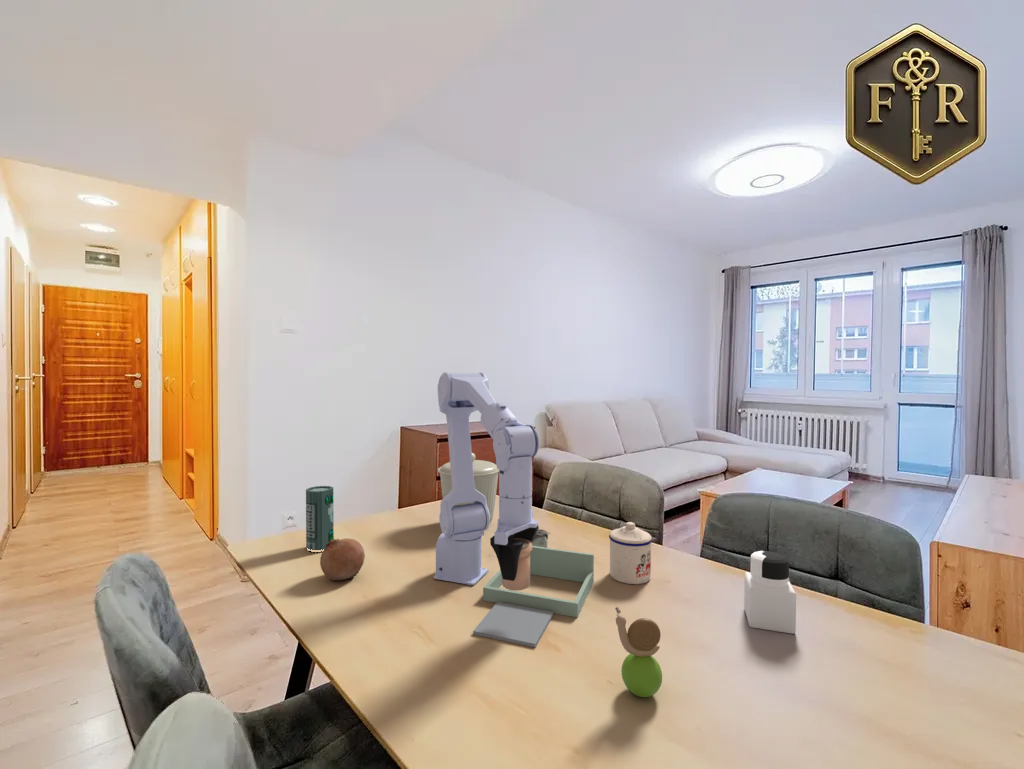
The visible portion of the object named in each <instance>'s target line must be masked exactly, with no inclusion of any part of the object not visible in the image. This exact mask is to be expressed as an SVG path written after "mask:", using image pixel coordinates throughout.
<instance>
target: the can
mask: <svg viewBox="0 0 1024 769" xmlns="http://www.w3.org/2000/svg"><path fill="white" fill-rule="evenodd" d="M334 513H335V511H334V486H330V485H317V486H316V485H315V486H310V487H307V488H306V489H305V535H306V536H305V538H306V540H305V546H306V548H308V549H310V550H311V549H312V550H321V549H322V550H323V549H325V548H326V547H325V546H326V544H328V543H329V541H331V540H334V538H335V537H334V535H335V534H334V533H335V532H334V531H335V530H334V528H335V527H334V525H335V524H334V522H335V521H334V520H335V519H334V517H335V516H334ZM327 542H328V543H327ZM306 548H305V549H306Z"/></svg>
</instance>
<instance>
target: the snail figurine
mask: <svg viewBox="0 0 1024 769" xmlns="http://www.w3.org/2000/svg"><path fill="white" fill-rule="evenodd" d="M615 611H616V616H617V617H616V618H615V624H616V626H617V630H618V631H617V632H618V635H619V640H620V642H621V645H622V647H623V649H624V650H625V651H626V652H627V653H629V654H628V655H627V656H625V658H624V660H623V662H622V665H621V677H622V681H623V684H624V685H625V687H626V688H627V690H628V691H630V692H631V693H632V694H633V695H635V696H636V697H640V698H649V697H652V696H654V695H655V694H656V693H658V691H659V690H660V688H661V686H662V684H663V672H662V668H661V665H660V664H659V662H658V660H657V659H656V658H655V657H654V656H653V655H655V654H656V653H657V652H658V651H659V650H660V648H661V646H660V645H658V644H659V642H660V640H661V630H660V628H659V625H658V624H657V622H656V621H654V620H652V619H650V618H645V617H642V618H641V617H640V618H638V619H635V620H634V621H633V622H632V623H631V624H630V625H629V627H628V629H627V627H626V625H627V619H626V617H625V616H623V615H620V614H621V612H622V611H621V609H620V607H619V606H616V607H615Z"/></svg>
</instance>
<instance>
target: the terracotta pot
mask: <svg viewBox="0 0 1024 769" xmlns="http://www.w3.org/2000/svg"><path fill="white" fill-rule="evenodd" d="M515 540H519V541H525V543H524V545H523V547H522V549H521V552H520V555H519V560H518V568H517V575H516V578H515V580H514V581H510V580H504V579H503V578H502V584H501V586H503V588H504V589H506V590H512V591H522V590H526V589H527V588H529V587H530V585H531V582H532V580H531V574H530V555H531V553H532V543H531V542H530V541H529V540H527V539H523V538H515Z"/></svg>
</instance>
